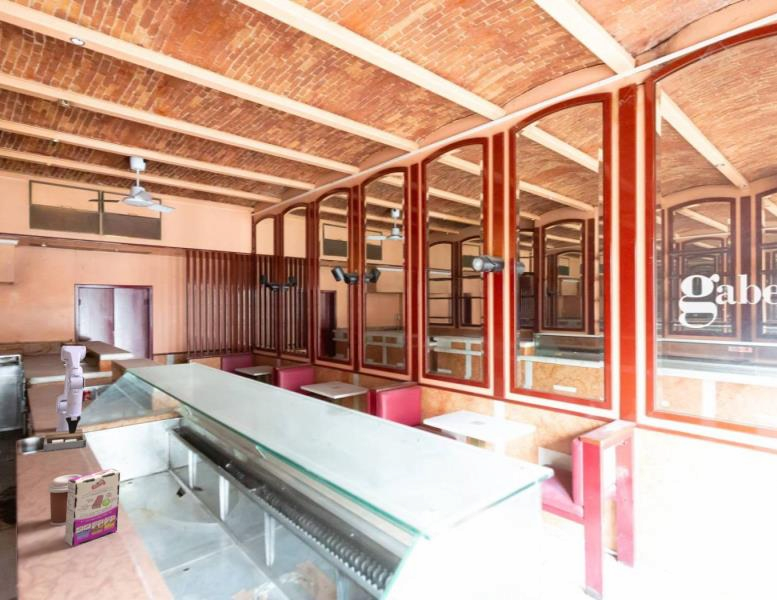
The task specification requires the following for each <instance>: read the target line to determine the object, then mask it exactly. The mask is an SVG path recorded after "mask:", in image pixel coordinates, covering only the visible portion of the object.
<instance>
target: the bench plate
mask: <svg viewBox="0 0 777 600" xmlns="http://www.w3.org/2000/svg"><path fill="white" fill-rule="evenodd" d="M82 435H84V432H83V429H82V428H81V429H76V431H75V433H71V434H69V430H67V431H56V430H55V431H45V438H47V444H49V443H52V440H61V439H63V442H65V440H70V439H76V441H78V440H82Z"/></svg>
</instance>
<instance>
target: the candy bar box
mask: <svg viewBox="0 0 777 600" xmlns="http://www.w3.org/2000/svg"><path fill="white" fill-rule="evenodd" d="M120 481H121V471H120V470H117V469H114V468H109V469H105V470H104V469H103V470H100V471H96V472H92V473H89V474H85V475H81V477H77V478H73V479H69V480H68V496H67V513H66V525H65V530H64V531H65V533H64V534H65V535H64V543H66V544H67V545H68V546H70V547H72V548H74V547H77V546H78V547H79V545H84V544H86V543H88V542H89V543H90V542H91V541H94V540H96V539H99V538H102V537H105V536H108V535H109V534H112V533H113V534H114V533H115V532H117V531H118V519H119V497H120V485H121V484H120Z"/></svg>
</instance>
